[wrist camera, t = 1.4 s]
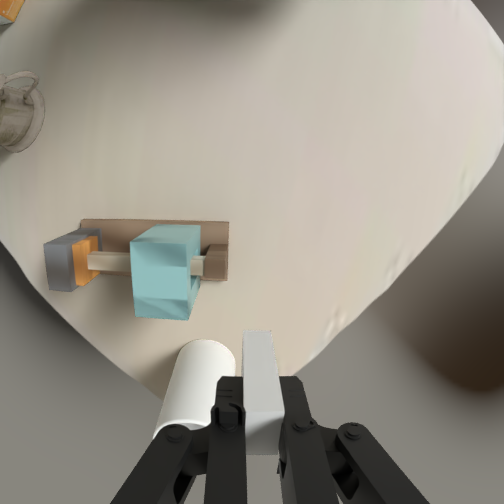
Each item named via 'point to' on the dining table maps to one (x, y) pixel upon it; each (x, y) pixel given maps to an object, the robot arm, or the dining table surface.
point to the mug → (20, 113)
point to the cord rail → (125, 251)
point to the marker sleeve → (165, 271)
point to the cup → (195, 384)
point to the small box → (9, 10)
